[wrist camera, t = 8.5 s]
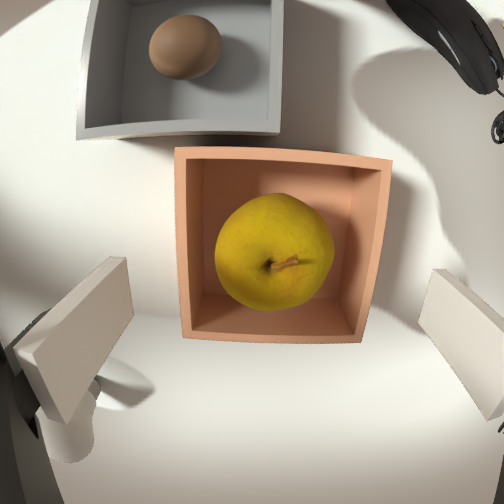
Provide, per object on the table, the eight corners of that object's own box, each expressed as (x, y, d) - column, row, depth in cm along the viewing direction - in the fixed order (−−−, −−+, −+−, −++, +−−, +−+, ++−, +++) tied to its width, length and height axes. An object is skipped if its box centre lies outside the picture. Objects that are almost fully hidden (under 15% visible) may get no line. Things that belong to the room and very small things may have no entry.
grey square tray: (116, 139, 19) (76, 140, 14) (128, 4, 16) (97, -24, 10) (274, 136, 19) (280, 132, 14) (278, -7, 15) (284, -46, 10)
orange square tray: (198, 296, 23) (183, 337, 18) (196, 146, 20) (174, 147, 14) (341, 301, 23) (361, 342, 18) (360, 155, 19) (392, 160, 14)
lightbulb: (62, 372, 27) (16, 439, 17) (82, 348, 26) (29, 425, 15) (103, 406, 29) (68, 478, 18) (128, 387, 27) (91, 470, 17)
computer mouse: (434, -51, 12) (452, -68, 8) (541, 87, 16) (566, 86, 12) (366, -7, 15) (383, -29, 12) (498, 154, 19) (527, 159, 15)
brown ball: (159, 88, 18) (135, 75, 14) (164, 31, 16) (142, 9, 12) (224, 85, 18) (214, 69, 14) (227, 27, 16) (219, 0, 12)
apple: (332, 195, 20) (364, 226, 12) (309, 282, 22) (323, 350, 14) (237, 176, 20) (211, 194, 12) (222, 265, 22) (194, 326, 14)
